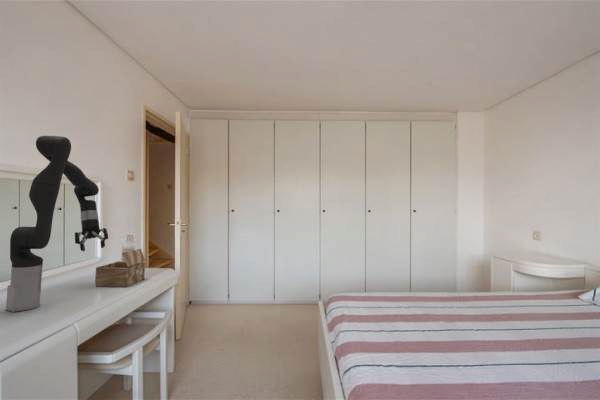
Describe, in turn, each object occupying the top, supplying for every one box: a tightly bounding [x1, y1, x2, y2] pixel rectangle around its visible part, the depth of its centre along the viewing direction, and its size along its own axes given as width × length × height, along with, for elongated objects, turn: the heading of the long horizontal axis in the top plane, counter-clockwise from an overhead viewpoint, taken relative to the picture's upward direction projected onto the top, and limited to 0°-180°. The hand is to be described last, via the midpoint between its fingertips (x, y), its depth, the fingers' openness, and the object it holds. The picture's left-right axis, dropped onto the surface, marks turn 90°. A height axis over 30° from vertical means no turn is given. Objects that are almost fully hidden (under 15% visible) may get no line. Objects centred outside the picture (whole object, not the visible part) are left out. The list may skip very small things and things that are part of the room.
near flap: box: [121, 248, 146, 267], centre depth 158 cm, size 17×8×1 cm
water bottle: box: [120, 234, 136, 262], centre depth 177 cm, size 7×7×25 cm
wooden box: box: [94, 261, 146, 288], centre depth 157 cm, size 19×17×10 cm
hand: (93, 249), depth 148 cm, fingers open, 8 cm apart
